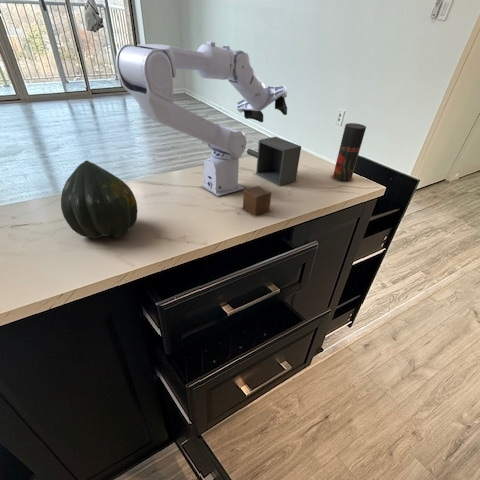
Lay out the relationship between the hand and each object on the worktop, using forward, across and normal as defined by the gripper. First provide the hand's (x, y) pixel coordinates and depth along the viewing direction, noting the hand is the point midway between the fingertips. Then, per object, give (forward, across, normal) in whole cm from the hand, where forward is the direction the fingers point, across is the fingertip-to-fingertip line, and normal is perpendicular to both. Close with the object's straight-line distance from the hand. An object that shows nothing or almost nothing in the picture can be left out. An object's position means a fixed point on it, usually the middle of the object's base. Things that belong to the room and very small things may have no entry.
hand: (273, 115), depth 94 cm
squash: (-41, +22, +40) cm, 61 cm away
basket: (+7, +1, +9) cm, 11 cm away
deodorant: (+20, -16, +15) cm, 29 cm away
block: (-13, -2, +31) cm, 34 cm away
